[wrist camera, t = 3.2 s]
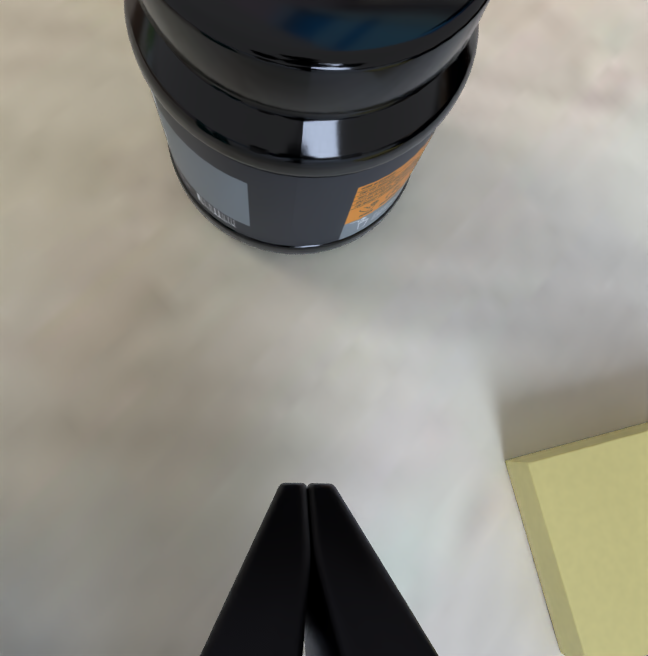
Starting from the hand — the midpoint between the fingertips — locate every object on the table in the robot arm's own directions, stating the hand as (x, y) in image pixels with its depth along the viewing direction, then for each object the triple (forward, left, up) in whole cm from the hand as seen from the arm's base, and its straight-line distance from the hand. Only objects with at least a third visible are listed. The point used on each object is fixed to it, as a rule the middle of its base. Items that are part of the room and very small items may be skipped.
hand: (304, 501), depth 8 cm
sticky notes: (-2, -14, -13) cm, 19 cm away
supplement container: (+14, 0, -13) cm, 19 cm away
